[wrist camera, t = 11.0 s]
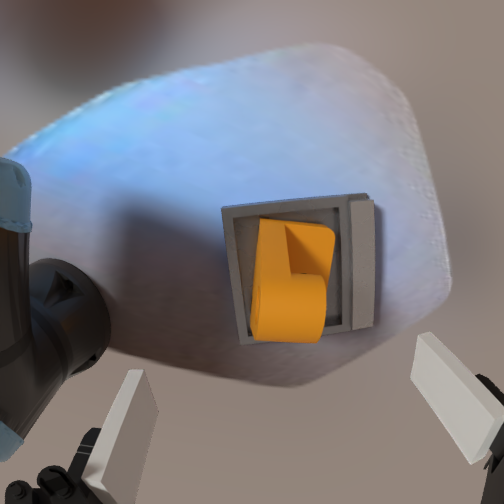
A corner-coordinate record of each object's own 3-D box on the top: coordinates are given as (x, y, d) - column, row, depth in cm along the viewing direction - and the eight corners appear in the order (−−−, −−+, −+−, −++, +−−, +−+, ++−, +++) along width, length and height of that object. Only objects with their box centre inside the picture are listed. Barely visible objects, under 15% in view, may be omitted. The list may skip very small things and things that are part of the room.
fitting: (240, 337, 36) (239, 348, 34) (222, 206, 32) (220, 209, 30) (365, 320, 36) (372, 330, 33) (364, 192, 32) (373, 195, 29)
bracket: (314, 318, 35) (341, 383, 23) (250, 314, 35) (251, 382, 23) (329, 223, 32) (372, 254, 20) (259, 216, 32) (266, 245, 20)
